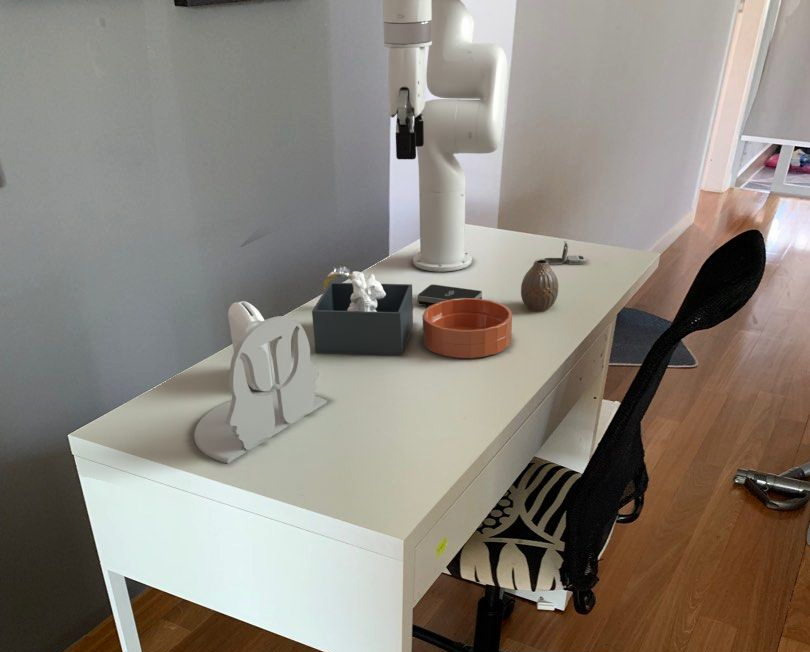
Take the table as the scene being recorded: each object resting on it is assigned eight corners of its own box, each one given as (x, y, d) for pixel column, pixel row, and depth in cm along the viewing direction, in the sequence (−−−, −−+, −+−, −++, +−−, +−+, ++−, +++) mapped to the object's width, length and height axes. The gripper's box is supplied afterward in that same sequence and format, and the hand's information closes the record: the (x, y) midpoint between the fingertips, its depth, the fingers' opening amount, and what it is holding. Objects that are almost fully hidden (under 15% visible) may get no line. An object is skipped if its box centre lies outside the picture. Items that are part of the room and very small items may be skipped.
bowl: (429, 323, 156) (428, 297, 153) (512, 326, 154) (513, 299, 151) (418, 358, 144) (417, 329, 141) (508, 361, 142) (509, 332, 139)
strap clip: (584, 259, 183) (585, 239, 181) (585, 264, 181) (587, 244, 178) (544, 260, 184) (545, 240, 181) (545, 264, 181) (546, 244, 179)
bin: (333, 322, 158) (329, 282, 154) (413, 324, 156) (412, 284, 152) (315, 353, 147) (311, 310, 143) (401, 356, 145) (400, 313, 141)
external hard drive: (469, 313, 160) (469, 303, 159) (415, 305, 164) (415, 295, 163) (482, 301, 165) (483, 290, 164) (430, 293, 169) (430, 283, 168)
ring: (363, 307, 164) (360, 266, 159) (356, 313, 161) (353, 271, 157) (330, 303, 166) (327, 262, 161) (323, 309, 164) (319, 267, 159)
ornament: (228, 464, 117) (208, 350, 107) (162, 439, 124) (138, 329, 114) (329, 402, 132) (319, 296, 122) (265, 382, 138) (251, 280, 128)
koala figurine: (371, 348, 147) (368, 279, 140) (337, 343, 149) (332, 274, 142) (392, 330, 153) (390, 263, 146) (359, 325, 155) (355, 259, 148)
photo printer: (233, 370, 142) (222, 297, 135) (258, 364, 144) (248, 292, 136) (252, 394, 135) (241, 318, 127) (278, 388, 136) (269, 313, 129)
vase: (556, 301, 164) (559, 255, 158) (557, 314, 158) (561, 267, 153) (519, 301, 164) (522, 255, 159) (520, 314, 159) (522, 267, 154)
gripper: (392, 29, 141) (396, 141, 151) (374, 41, 127) (379, 164, 137) (438, 28, 140) (438, 141, 150) (424, 40, 126) (426, 164, 136)
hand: (410, 152), depth 144 cm, fingers open, 9 cm apart
